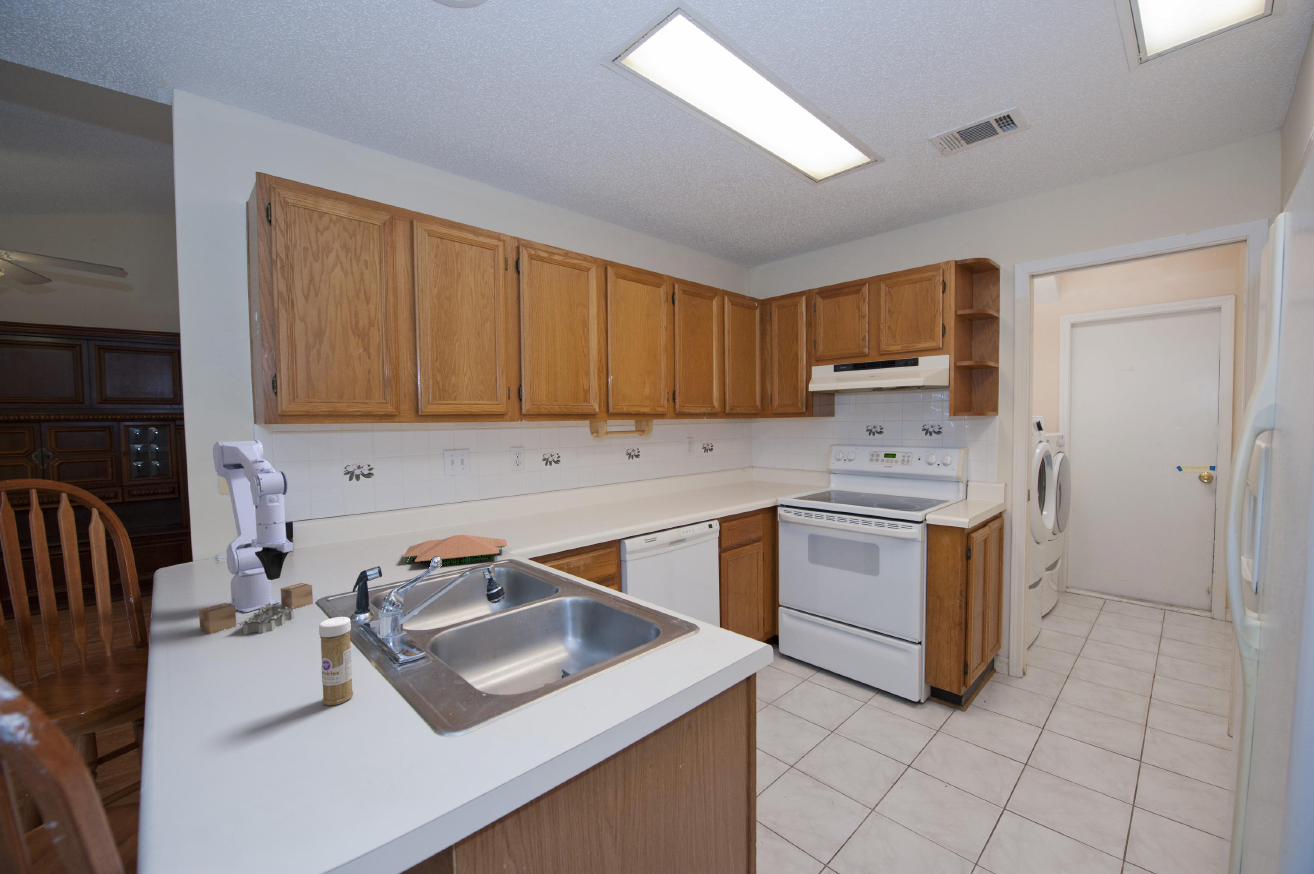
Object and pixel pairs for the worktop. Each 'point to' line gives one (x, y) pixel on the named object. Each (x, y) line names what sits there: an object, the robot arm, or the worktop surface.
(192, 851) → the worktop surface
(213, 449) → the robot arm
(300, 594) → the numbered block one
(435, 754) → the worktop surface
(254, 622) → the egg carton
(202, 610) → the numbered block seven
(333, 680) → the sprinkles bottle
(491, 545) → the house
